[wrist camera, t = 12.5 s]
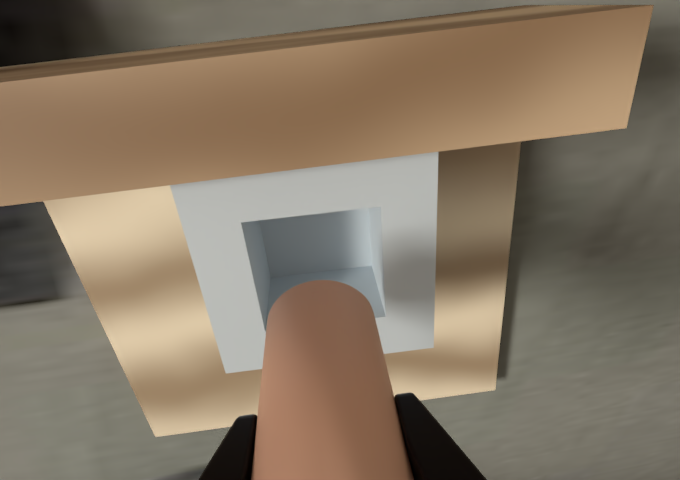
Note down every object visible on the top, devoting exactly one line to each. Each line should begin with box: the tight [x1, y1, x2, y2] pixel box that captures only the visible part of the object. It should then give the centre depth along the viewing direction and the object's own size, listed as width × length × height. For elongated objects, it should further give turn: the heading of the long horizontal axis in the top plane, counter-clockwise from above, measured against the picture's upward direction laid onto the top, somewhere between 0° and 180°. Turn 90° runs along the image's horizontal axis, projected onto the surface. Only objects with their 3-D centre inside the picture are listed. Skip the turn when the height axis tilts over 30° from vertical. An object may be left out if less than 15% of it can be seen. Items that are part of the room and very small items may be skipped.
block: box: [170, 152, 438, 373], centre depth 17 cm, size 8×8×5 cm
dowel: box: [251, 280, 414, 480], centre depth 8 cm, size 3×3×9 cm
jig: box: [0, 5, 654, 437], centre depth 18 cm, size 20×20×7 cm
